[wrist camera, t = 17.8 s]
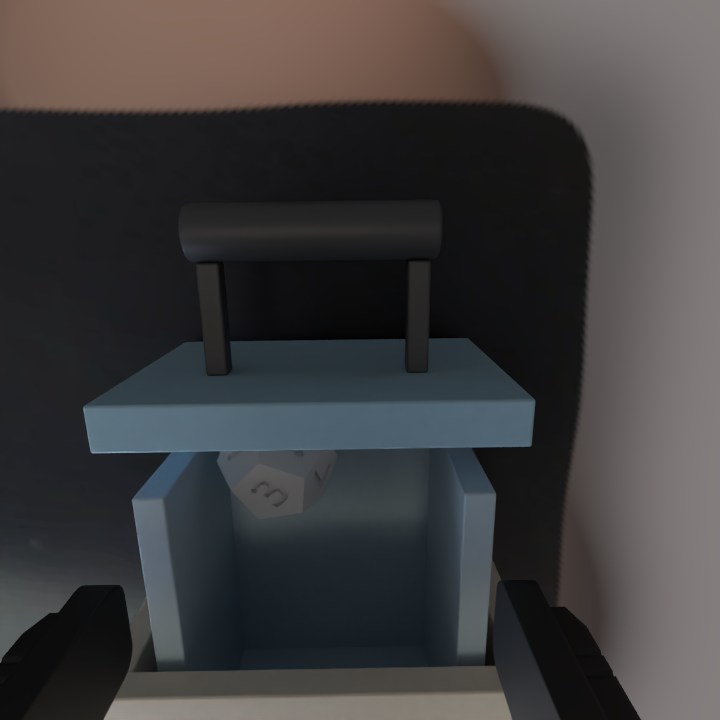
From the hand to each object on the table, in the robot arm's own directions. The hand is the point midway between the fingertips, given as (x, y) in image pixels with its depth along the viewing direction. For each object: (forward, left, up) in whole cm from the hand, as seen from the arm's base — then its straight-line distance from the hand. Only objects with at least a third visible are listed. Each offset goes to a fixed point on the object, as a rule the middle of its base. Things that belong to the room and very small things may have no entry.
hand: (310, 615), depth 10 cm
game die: (0, 0, -6) cm, 6 cm away
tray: (0, 0, -9) cm, 9 cm away
